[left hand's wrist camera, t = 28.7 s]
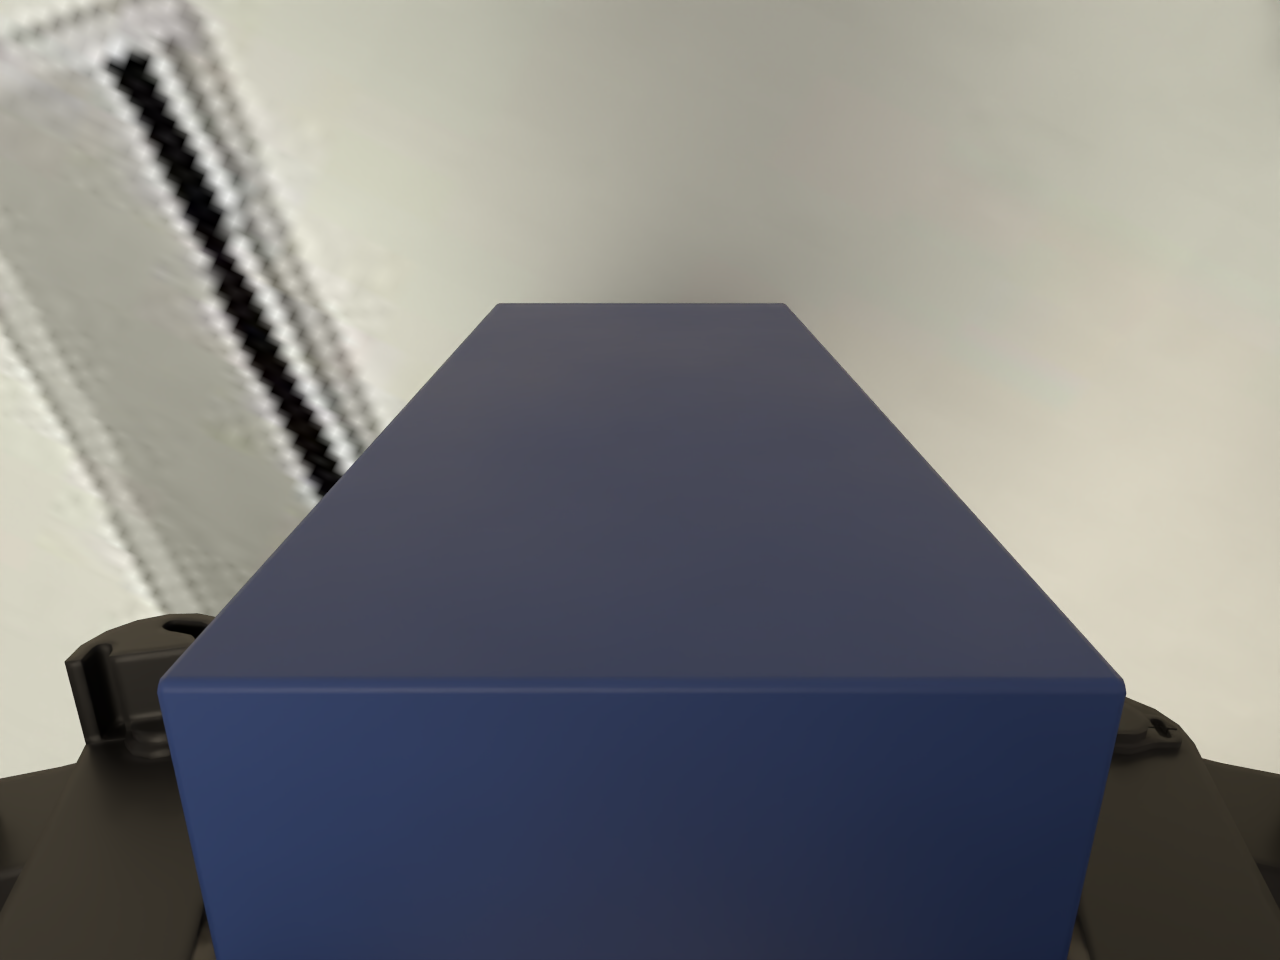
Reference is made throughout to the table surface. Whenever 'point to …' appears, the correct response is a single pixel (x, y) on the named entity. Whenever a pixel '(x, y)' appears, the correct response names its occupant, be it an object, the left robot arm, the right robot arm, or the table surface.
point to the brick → (641, 677)
